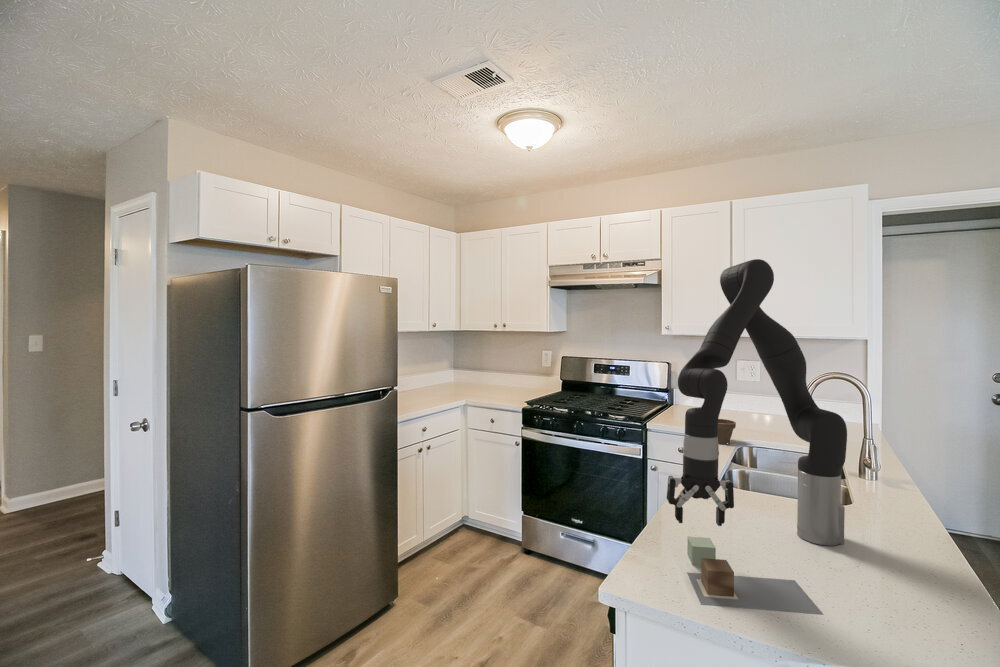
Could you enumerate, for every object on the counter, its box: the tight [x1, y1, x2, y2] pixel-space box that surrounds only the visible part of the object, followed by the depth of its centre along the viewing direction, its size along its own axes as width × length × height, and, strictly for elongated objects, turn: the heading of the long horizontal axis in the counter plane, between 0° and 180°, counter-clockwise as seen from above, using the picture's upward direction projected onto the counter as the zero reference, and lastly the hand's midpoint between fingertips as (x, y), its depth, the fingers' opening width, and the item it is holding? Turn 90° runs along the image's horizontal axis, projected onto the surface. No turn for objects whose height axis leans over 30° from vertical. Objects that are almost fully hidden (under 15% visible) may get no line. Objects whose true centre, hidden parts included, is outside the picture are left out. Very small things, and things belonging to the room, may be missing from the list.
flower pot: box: [718, 418, 737, 445], centre depth 217 cm, size 12×11×10 cm
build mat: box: [686, 571, 825, 615], centre depth 98 cm, size 22×12×1 cm, turn 81°
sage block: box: [686, 536, 717, 567], centre depth 110 cm, size 5×5×5 cm
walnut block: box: [700, 558, 735, 597], centre depth 98 cm, size 5×5×5 cm
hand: (699, 523), depth 111 cm, fingers open, 8 cm apart
